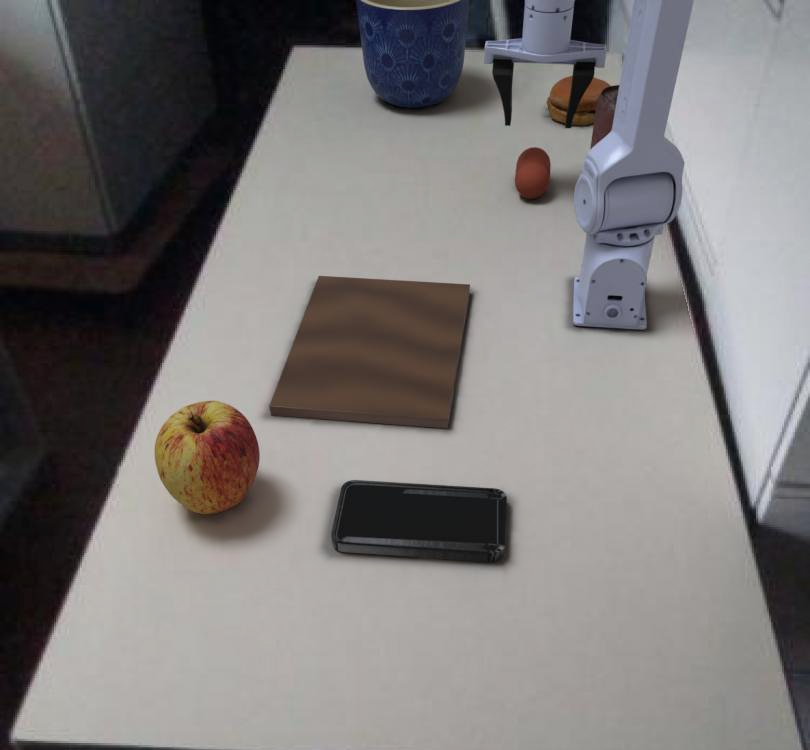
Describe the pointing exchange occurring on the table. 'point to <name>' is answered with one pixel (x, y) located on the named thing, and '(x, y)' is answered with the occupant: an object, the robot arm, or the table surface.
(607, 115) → the can
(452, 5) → the planter
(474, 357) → the table surface
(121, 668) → the table surface
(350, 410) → the board
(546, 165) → the sweet potato
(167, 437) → the apple
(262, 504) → the table surface
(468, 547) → the phone
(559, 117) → the burger
